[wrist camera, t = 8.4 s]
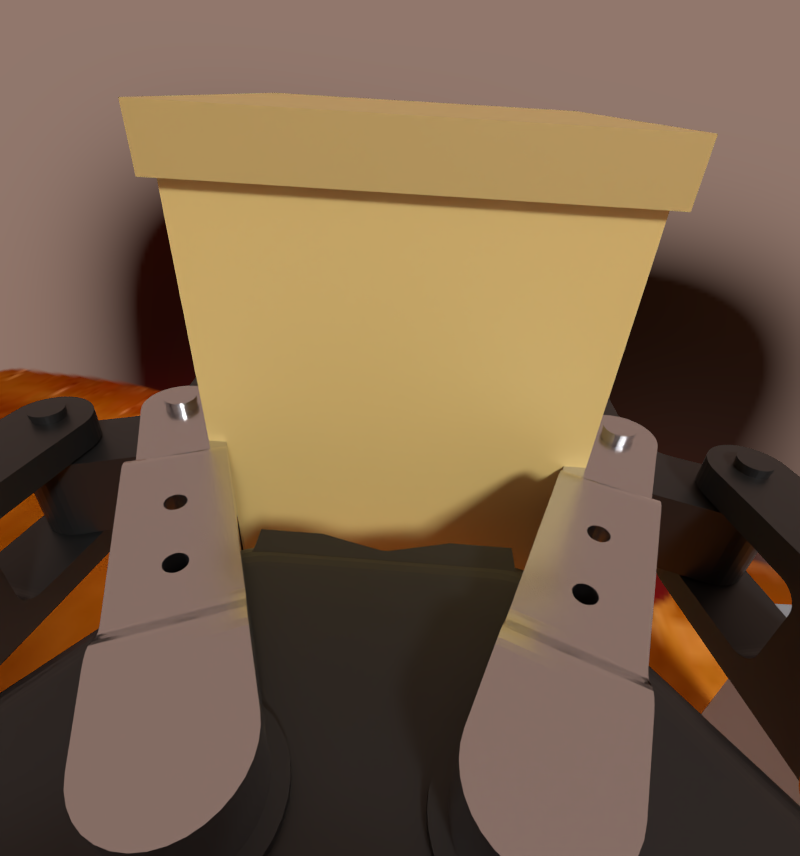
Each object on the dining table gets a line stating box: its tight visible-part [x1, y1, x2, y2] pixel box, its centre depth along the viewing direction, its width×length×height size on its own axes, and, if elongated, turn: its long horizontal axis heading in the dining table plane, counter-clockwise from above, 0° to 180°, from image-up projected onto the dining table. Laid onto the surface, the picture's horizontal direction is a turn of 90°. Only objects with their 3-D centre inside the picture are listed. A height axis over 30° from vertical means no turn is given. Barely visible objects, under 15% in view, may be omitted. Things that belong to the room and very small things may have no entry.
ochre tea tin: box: [118, 93, 718, 570], centre depth 11 cm, size 6×6×12 cm
